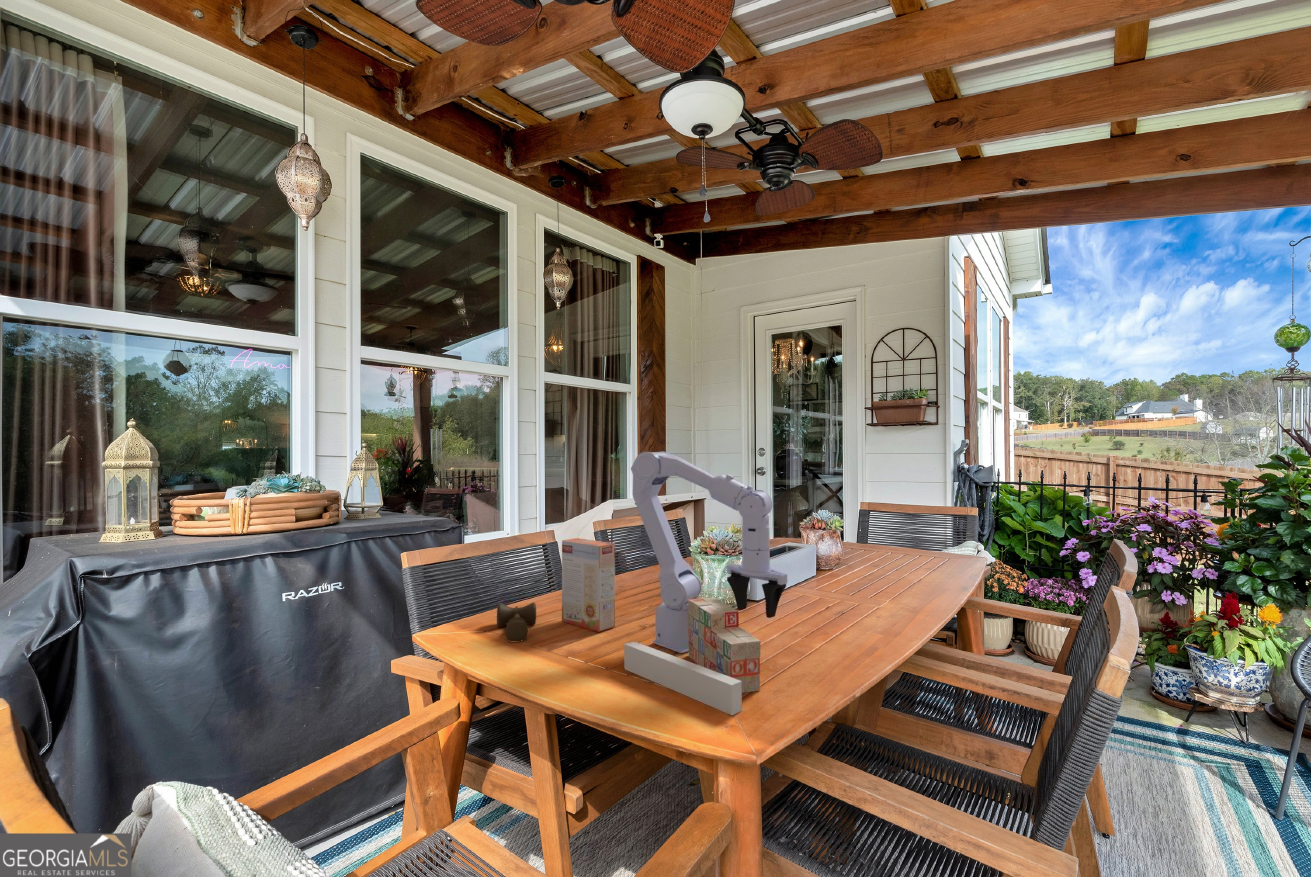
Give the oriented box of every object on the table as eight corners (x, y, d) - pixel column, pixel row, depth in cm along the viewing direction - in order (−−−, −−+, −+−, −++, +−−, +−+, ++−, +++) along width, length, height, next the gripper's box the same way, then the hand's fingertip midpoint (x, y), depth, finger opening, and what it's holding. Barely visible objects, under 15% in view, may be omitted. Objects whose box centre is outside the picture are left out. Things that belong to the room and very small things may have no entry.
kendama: (494, 646, 135) (497, 619, 154) (537, 644, 137) (535, 617, 156) (495, 620, 134) (497, 596, 154) (538, 618, 137) (535, 594, 156)
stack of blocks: (761, 691, 109) (760, 624, 109) (729, 696, 107) (729, 627, 107) (714, 652, 129) (714, 595, 129) (687, 655, 127) (687, 598, 127)
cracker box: (616, 627, 147) (616, 542, 147) (598, 633, 142) (598, 545, 142) (578, 616, 156) (578, 536, 156) (560, 621, 151) (560, 539, 152)
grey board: (624, 668, 119) (624, 643, 119) (633, 665, 121) (633, 641, 121) (732, 715, 99) (731, 685, 99) (741, 710, 100) (741, 681, 100)
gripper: (795, 550, 123) (796, 616, 123) (741, 542, 134) (741, 602, 134) (775, 554, 118) (775, 623, 118) (720, 545, 129) (720, 608, 129)
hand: (756, 612), depth 126 cm, fingers open, 7 cm apart
